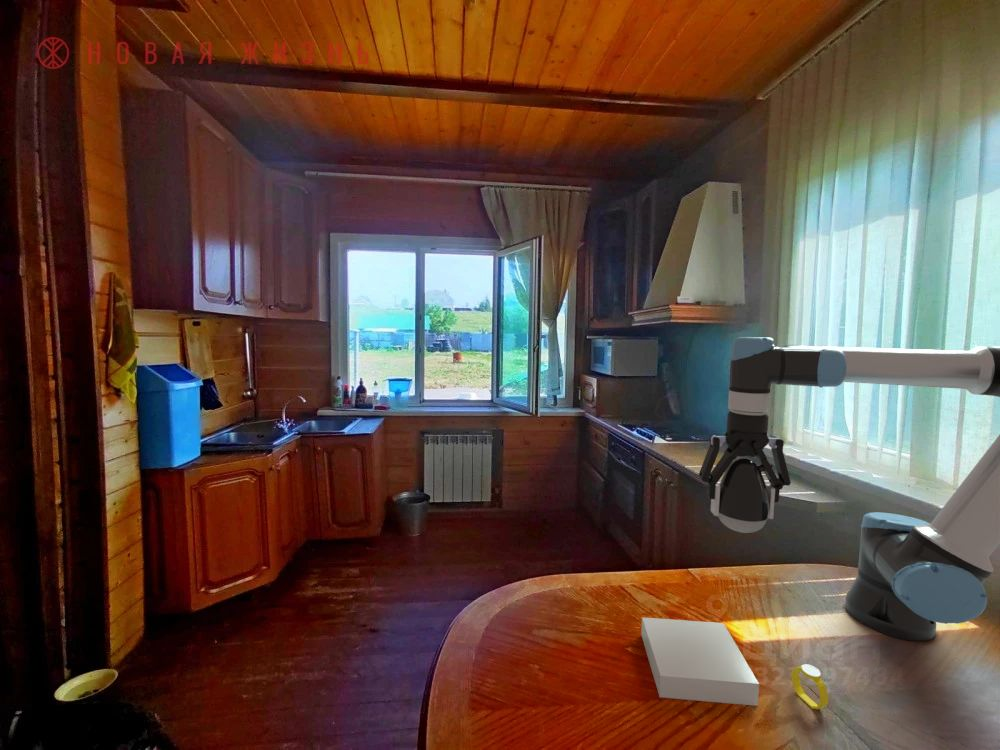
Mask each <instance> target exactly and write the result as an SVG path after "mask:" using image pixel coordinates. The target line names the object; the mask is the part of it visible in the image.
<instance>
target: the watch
mask: <svg viewBox="0 0 1000 750" xmlns="http://www.w3.org/2000/svg"><path fill="white" fill-rule="evenodd" d="M800 672H801V674H802V675H803V676H805V678H808V679H810V680H813V682H814V683H815V685H816V687H817V691H818V694H819V703H818V704H817V703H816V702H815V701H814V700H813V699H811V698H810V697H809V696H808V695H807V694H806V693H805V691H804V689H803V687H802V685H801V680H800ZM790 677H791V682H792V686H793V689H794V691H795V692H796V695H797V696H798V698H800V699H801V700H803V702H805V703H806V704H807V705H808V706H809V707H810V709H812V710H820V709H824V708H826V707H827V706H828V704H829V692H828V690H827V687H826V685H825V683H824V681H823V679H822V678H821V677H822V672H821V671H820V669H818V668H817V667H815V666H813V665H812V664H808V663H807V664H806V663H804V664H802V665H799V666H796V667H794V668H793V669H792V670H791V676H790Z"/></svg>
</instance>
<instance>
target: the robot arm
mask: <svg viewBox="0 0 1000 750" xmlns="http://www.w3.org/2000/svg"><path fill="white" fill-rule="evenodd" d="M729 359H730V360H729V361H730V363H729V364H730V366H729V385H728V387H729V389H728V403H727V408H728V409H729V411H728V412H727V415H726V416H727V417H726V420H727V421H726V431H725V434H724V435H715V434H710V436H709V447H708V449H707V452H706V455H705V457H704V460H703V463H702V465H701V468H700V470H699V472H698V478H699V479H701V481H703V483H707V487H706V495H707V497H708V499H709V500H710V513H712V515H713V516H714V517H718V516H719V500H720V483H718V482H719V481H721V479H722V477H723V475H724V473H725V471H726V470H727V468H728V467H729V466H730V464H731V463H732V461H734V460H735V459H737V458H738V457H741V458H744V457H750V458H751V457H752V458H755V459H756V460H757V462H758V465H763V467H764V468H765V471H763V473H764V475H765V476H766V478H767V481H768V482H769V483H768V484H767V483H765V484H766V488H767V492H768V498H769V508H770V514H769V518H768V519H769V520H774V512H775V511H774V510H775V503H778V502H779V501H780V490H782V489H783V488H784V487H785V486H787V487H788V486H790V485H791V479H790V478H791V477H790V474H789V471H788V466H787V463H786V459H785V456H784V444H785V442H784V440H783V439H782V438H779V437H777V436H773V437H769V436H768V429H769V415H768V414H767V413H768V412H770V403H771V402H770V400H771V386H772V385H786V386H788V385H789V386H802V387H817V388H818V387H819V388H827V387H829V388H830V387H835V388H836V387H839V386H841V385H842V384H843V383H856V384H871V385H872V384H873V385H888V386H889V385H890V386H891V385H892V386H893V385H894V386H906V387H907V386H909V387H926V388H940V389H941V388H944V389H945V388H946V389H948V388H949V389H958V390H959V389H963V390H967V391H968V392H969V393H970V394H972V395H977V396H978V395H979V396H981V395H982V396H991V397H997V398H1000V346H993V345H992V346H982V345H979V346H975V347H973V348H971V350H950V349H949V350H946V349H942V350H941V349H920V348H919V349H917V348H913V349H912V348H908V349H907V348H884V347H883V348H882V347H854V346H853V347H851V346H849V347H848V346H818V345H817V346H815V345H813V346H812V345H811V346H810V345H798V344H786V345H783V346H781V347H779V346H775V342H774V338H772V337H765V336H764V337H763V336H762V337H759V336H758V337H757V336H755V337H754V336H753V337H752V336H739V337H736V338H735V339H733V342H732V345H731V354H730V358H729ZM993 441H994V442H992V443H991V445H990V446H989V448H988V449H987V450H986V451H985V453H984V454H983V455H982V457H981V458H980V459H979V460H978V462H977V463H976V465H974V467H973V468H972V470H971V471H970V472H969V473H968V474H967V476H966V477H965V478H964V480H963V481H962V482H961V484H960V485H959V486H958V487H957V489H956V490H955V491H954V492H953V493H952V495H951V497H950V498H949V499H948V501H947V502H946V503H945V504H944V505H943V507H942V508H941V509H940V511H939V512H938V513H937V515H936V516H935V517H934V518H933V519H932V521H931V522H928V521H925V520H923V519H920V518H916V517H912V516H907V515H902V514H897V513H890V512H883V511H882V512H881V511H880V512H879V511H877V512H876V511H874V512H868V513H865V514H864V515H863V517H862V523H861V525H860V528H861V530H860V531H861V532H860V541H859V543H860V545H859V555H858V556H859V557H858V565H857V566H858V567H857V575H856V577H855V579H854V581H853V583H852V585H850V586H851V587H850V588H849V590H848V592H847V593H846V595H845V605H844V606H845V609H846V611H847V612H848V614H850V616H851V617H853V618H854V619H855V620H856V621H858V622H859V623H861V624H862V625H864V626H866V627H868V628H870V629H872V630H875V631H877V632H879V633H882V634H883V635H887V636H891V637H893V638H897V639H901V640H905V641H911V642H912V641H914V642H923V641H924V642H926V641H930V640H933V638H934V637H935V636H936V633H937V623H940V624H945V625H946V624H963V623H967V622H970V621H972V620H975V619H976V618H977V617H979V616H981V614H982V613H983V612H984V611H985V609H986V607H987V604H988V596H987V592H986V588H985V586H984V585H983V584H984V583H985V582H986V580H987V579H988V578H989V577H990V576H991V575H992V573H994V567H993V565H992V563H991V560H990V556H991V555H992V554H993V552H994V551H995V550H996V549H997V548H998V546H999V545H1000V434H999V435H997V437H996V439H995V440H993ZM724 443H726V445H727V447H726V449H725V450H724V451H723V452H724V453H723V455H722V456H721V458H720V459H719V461H718V462H717V463H716V465H715V462H716V460H717V457H718V455H719V453H720V447H722V446H723V444H724ZM767 445H768V446H769V447H770V448H771V453H772V457H773V461H774V464H775V465H774V466H775V468H776V469H775V470H776V473H777V475H776V473H775V470H774V469H773V467H771V466H770V464H769V463H770V462H769V460H768V457H767V456H766V453H765V451H764V449H765V448H766V446H767ZM714 465H715V466H714Z"/></svg>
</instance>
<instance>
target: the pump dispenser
mask: <svg viewBox="0 0 1000 750" xmlns="http://www.w3.org/2000/svg"><path fill="white" fill-rule="evenodd" d="M769 464H770V466H771V467H772V468H773V464H772V463H770V462H769ZM764 471H765V468H764V467H763V465H760V464H757V463H756V462H755V461H754V460H753V459H751V458H748V457H737V458H736V459H735V460H733V461H732V463H731V464H730V466H729V467H728V468H727V470H726V471H725V473H724V474H723V475H722V477H721V478H720V482H719V485H720V500H719V516H717V517H718V519H719V520H720V522H721V523H722V524H723V526H725V527H727V528H728V529H730V530H732V531H734V532H737V533H743V534H745V533H746V534H748V533H749V534H750V533H756V532H758V531H760V530H761V529H762V528H764V526H765V525H766V522H768V521H767V520H768V519H769V514H770V508H769V498H768V492H767V488H766V484H767V483H766V481H765V478H764V476H763V473H764ZM762 472H763V473H762Z"/></svg>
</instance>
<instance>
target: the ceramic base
mask: <svg viewBox="0 0 1000 750" xmlns="http://www.w3.org/2000/svg"><path fill="white" fill-rule="evenodd" d="M640 635H641V638H642V641H643V645H644V649H645V652H646V655H647V656H646V657H647V658H648V662H649V665H650V670H651V672H652V676H653V678H654V679H653V680H654V682H655V685H656V688H657V693H658V696H659V698H663V699H664V698H666V699H676V700H688V701H698V702H699V701H700V702H709V703H710V702H711V703H721V704H722V703H723V704H733V705H744V706H757V707H758V706H759V695H760V694H759V692H760V691H759V689H760V683H759V681H758V680H757V678H756V676H755V675H754V673H753V671H752V669H751V668H750V665H749V664H748V663H747V661H746V659H745V657H744V655H743V654H742V652H741V651H740V648H739V647H738V644H737V643H736V642H735V640H734V639H733V637H732V635H731V633H730V632H729V630H728V628H727V627H726V625H725V624H724V622H715V621H699V620H687V619H686V620H685V619H671V618H659V617H658V618H657V617H655V618H654V617H652V618H651V617H641V634H640Z"/></svg>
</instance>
